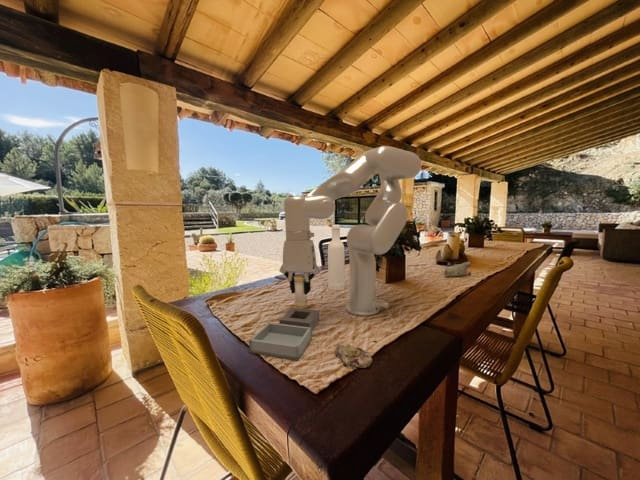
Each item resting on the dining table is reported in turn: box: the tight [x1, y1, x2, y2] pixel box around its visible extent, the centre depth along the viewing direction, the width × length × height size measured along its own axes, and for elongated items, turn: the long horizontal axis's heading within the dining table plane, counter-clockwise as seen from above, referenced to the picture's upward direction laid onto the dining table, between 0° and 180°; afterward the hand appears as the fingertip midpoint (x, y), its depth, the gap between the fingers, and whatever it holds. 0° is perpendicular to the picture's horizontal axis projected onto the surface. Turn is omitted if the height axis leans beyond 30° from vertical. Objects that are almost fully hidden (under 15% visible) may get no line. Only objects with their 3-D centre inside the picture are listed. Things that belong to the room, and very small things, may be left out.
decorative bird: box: [443, 261, 472, 279], centre depth 138 cm, size 5×16×8 cm, turn 107°
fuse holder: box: [278, 307, 320, 331], centre depth 84 cm, size 10×10×4 cm
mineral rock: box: [334, 344, 373, 370], centre depth 66 cm, size 11×4×8 cm
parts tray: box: [248, 322, 313, 361], centre depth 72 cm, size 14×11×4 cm
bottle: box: [327, 224, 346, 292], centre depth 120 cm, size 8×8×30 cm
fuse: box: [294, 273, 308, 309], centre depth 83 cm, size 4×4×10 cm
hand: (300, 291), depth 83 cm, fingers closed on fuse, 3 cm apart
